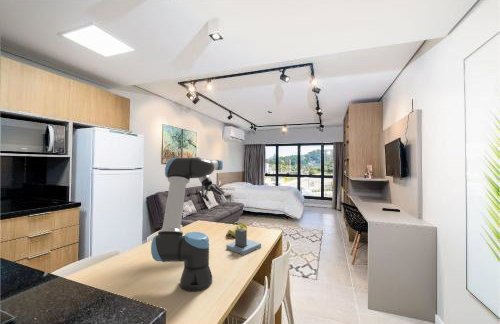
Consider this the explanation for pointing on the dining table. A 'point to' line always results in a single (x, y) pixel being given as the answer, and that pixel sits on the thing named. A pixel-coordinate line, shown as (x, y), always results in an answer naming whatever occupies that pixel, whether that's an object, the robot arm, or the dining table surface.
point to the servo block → (240, 238)
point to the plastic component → (241, 225)
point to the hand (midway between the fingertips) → (218, 203)
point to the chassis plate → (250, 247)
